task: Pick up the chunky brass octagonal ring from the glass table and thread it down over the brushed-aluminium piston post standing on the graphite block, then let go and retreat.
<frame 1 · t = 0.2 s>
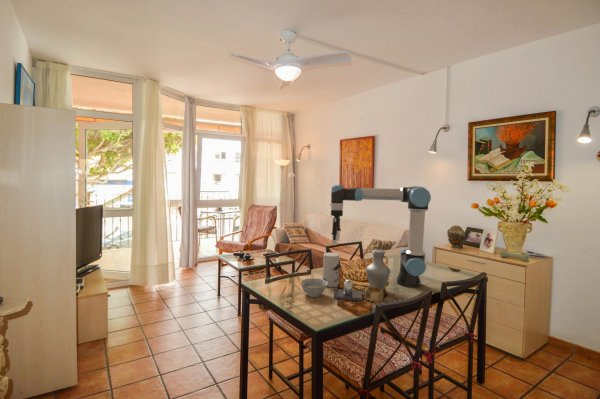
hand: (335, 242, 209), 28 cm above the table, fingers open, 13 cm apart
vase: (377, 290, 203), on the table
container: (330, 284, 212), on the table
bowl: (313, 295, 194), on the table
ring: (373, 297, 191), on the table
piston block: (347, 296, 193), on the table
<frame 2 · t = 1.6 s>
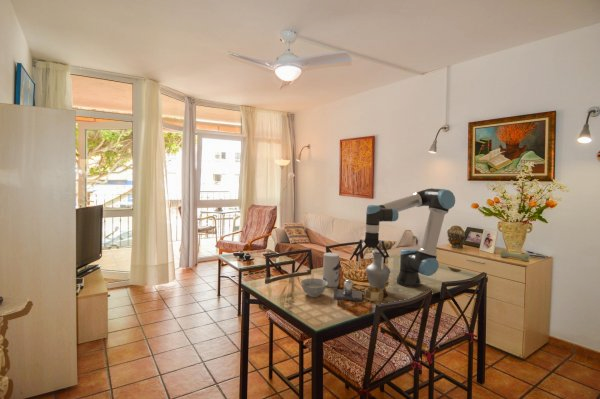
hand: (370, 267, 191), 17 cm above the table, fingers open, 13 cm apart
nothing on the table moved.
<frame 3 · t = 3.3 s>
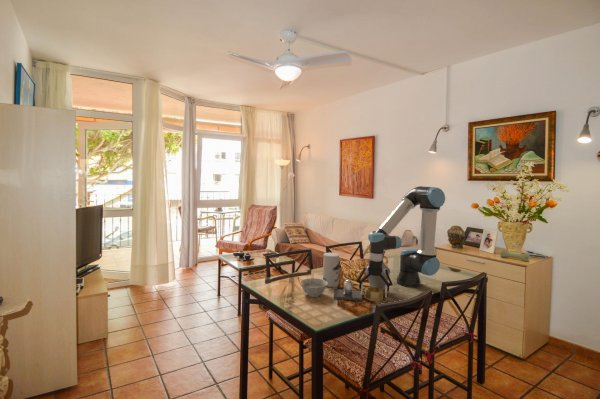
hand: (373, 295, 191), 1 cm above the table, fingers open, 13 cm apart
nothing on the table moved.
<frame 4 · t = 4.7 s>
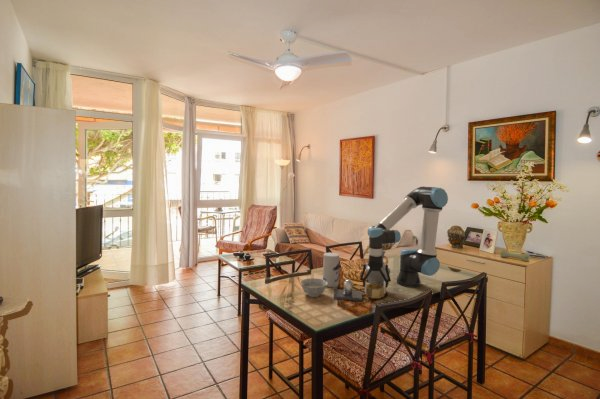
hand: (374, 292, 191), 3 cm above the table, fingers closed on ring, 10 cm apart
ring: (374, 294, 191), point 2 cm above the table, touching gripper
everything else where it was.
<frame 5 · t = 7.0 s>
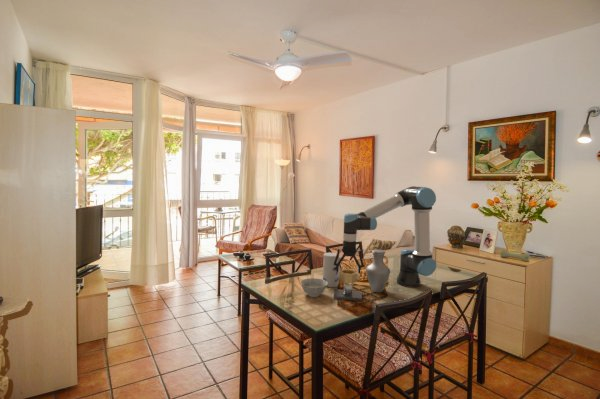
hand: (348, 277, 192), 11 cm above the table, fingers closed on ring, 10 cm apart
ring: (348, 280, 192), point 9 cm above the table, touching gripper
everything else where it was.
when the fingers open (3 cm above the table, at t = 9.2 s): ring stays where it is, resting on piston block.
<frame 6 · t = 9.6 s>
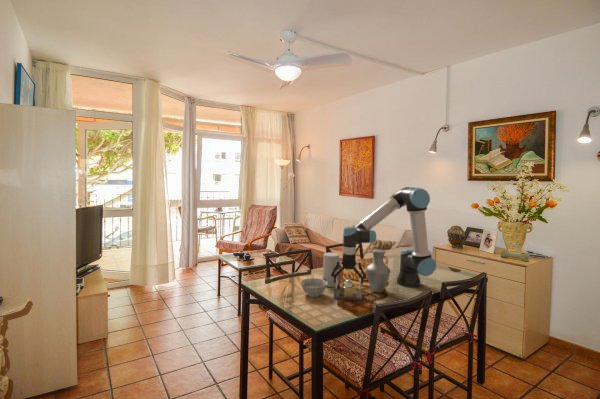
hand: (348, 289, 193), 4 cm above the table, fingers open, 13 cm apart
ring: (347, 293, 193), point 1 cm above the table, touching piston block
everything else where it was.
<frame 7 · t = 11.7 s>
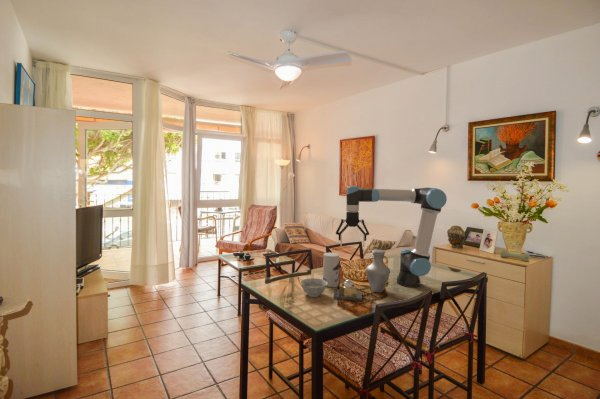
hand: (352, 245, 201), 28 cm above the table, fingers open, 13 cm apart
nothing on the table moved.
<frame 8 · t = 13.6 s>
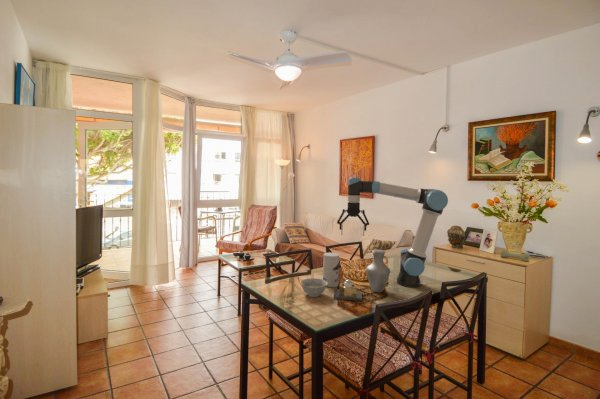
hand: (352, 235, 209), 33 cm above the table, fingers open, 13 cm apart
nothing on the table moved.
at the end: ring 0.1 cm off-centre on the piston block, point 1.5 cm above the piston block's base; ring tilted 0°; the gripper is holding nothing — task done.
